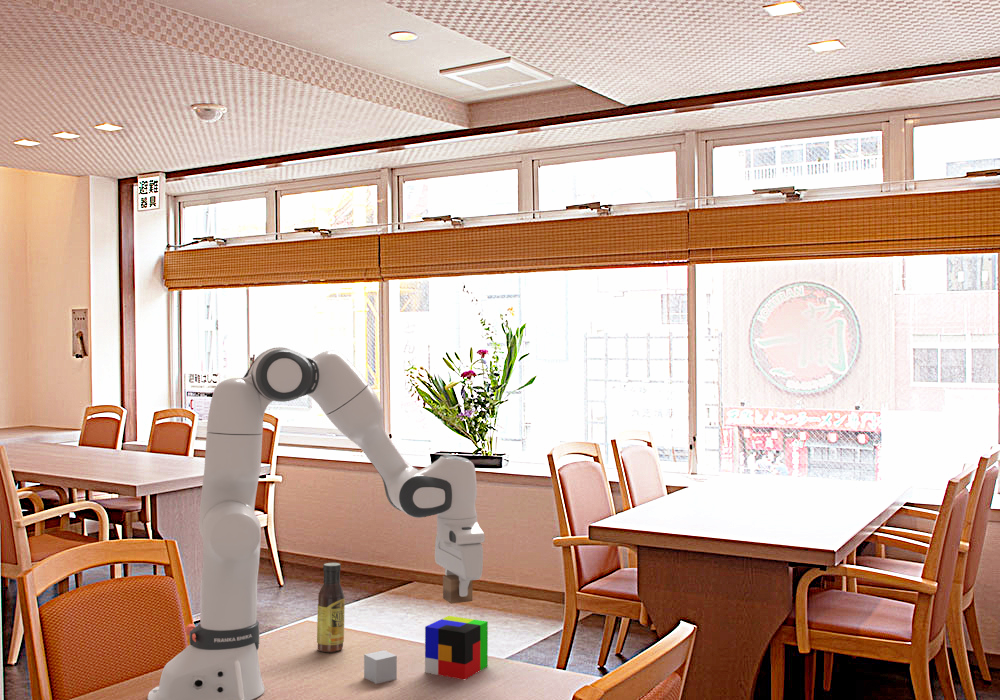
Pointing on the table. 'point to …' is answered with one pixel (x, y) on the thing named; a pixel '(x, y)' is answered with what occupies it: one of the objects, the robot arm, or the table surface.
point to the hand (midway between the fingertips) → (457, 592)
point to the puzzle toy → (456, 647)
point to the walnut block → (454, 590)
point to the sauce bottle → (331, 611)
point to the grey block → (380, 666)
